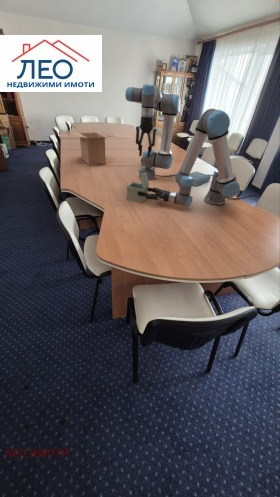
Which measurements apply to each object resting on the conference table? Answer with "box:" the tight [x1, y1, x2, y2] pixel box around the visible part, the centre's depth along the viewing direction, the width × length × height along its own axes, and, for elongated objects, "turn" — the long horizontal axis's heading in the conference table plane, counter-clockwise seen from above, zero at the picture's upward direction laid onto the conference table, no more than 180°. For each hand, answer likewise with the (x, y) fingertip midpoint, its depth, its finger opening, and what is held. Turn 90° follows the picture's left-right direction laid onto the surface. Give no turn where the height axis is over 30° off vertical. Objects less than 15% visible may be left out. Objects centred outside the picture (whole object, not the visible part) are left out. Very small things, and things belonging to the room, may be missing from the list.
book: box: [189, 171, 211, 187], centre depth 203 cm, size 23×16×5 cm
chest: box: [126, 181, 149, 203], centre depth 164 cm, size 13×10×10 cm
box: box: [70, 129, 114, 166], centre depth 229 cm, size 44×36×27 cm
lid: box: [138, 166, 156, 189], centre depth 154 cm, size 14×10×9 cm
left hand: (144, 156), depth 148 cm, fingers open, 5 cm apart
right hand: (140, 190), depth 162 cm, fingers closed on chest, 10 cm apart
